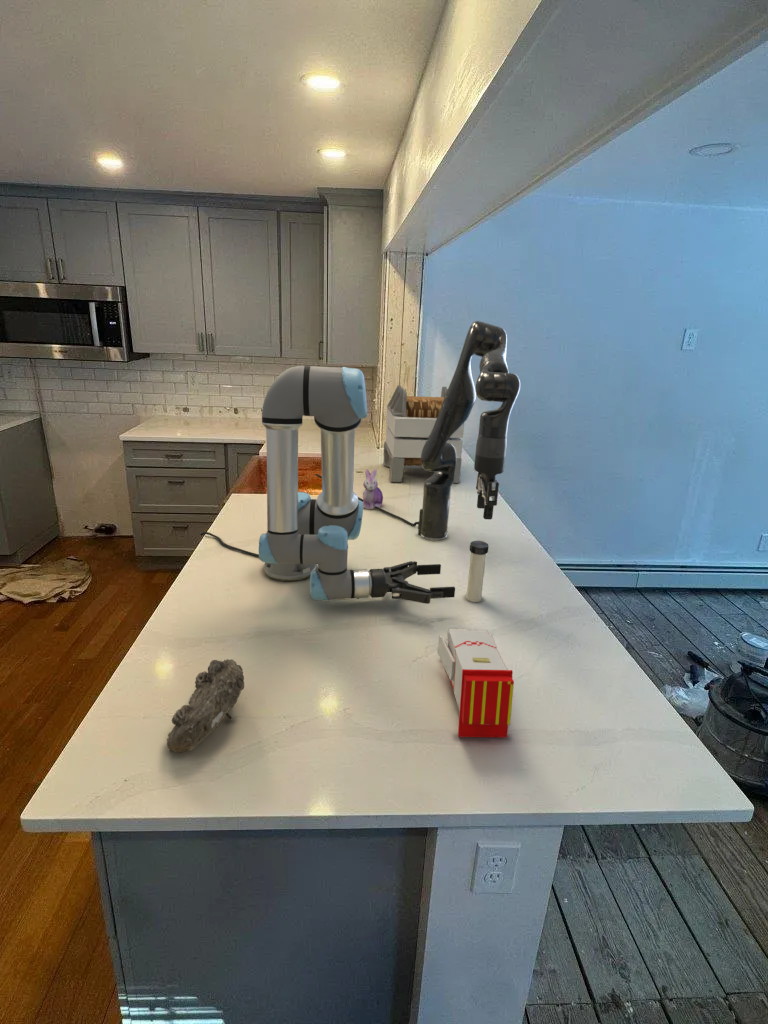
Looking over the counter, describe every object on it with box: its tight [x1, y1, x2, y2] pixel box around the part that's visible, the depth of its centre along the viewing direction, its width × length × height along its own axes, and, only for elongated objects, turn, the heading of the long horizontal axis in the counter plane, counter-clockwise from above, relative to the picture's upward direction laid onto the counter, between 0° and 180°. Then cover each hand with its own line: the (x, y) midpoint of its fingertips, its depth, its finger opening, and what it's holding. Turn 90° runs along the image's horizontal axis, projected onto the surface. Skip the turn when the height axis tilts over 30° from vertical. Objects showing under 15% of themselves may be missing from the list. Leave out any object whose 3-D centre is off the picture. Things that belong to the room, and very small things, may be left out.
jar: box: [465, 552, 487, 603], centre depth 155 cm, size 4×4×16 cm
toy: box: [437, 628, 515, 738], centre depth 117 cm, size 12×13×30 cm
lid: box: [468, 540, 490, 555], centre depth 152 cm, size 5×5×2 cm
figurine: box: [362, 468, 384, 510], centre depth 224 cm, size 9×10×15 cm
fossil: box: [166, 658, 245, 754], centre depth 106 cm, size 22×10×15 cm
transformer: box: [383, 384, 465, 484], centre depth 268 cm, size 34×33×41 cm
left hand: (447, 580), depth 153 cm, fingers open, 13 cm apart
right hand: (484, 513), depth 149 cm, fingers open, 8 cm apart
